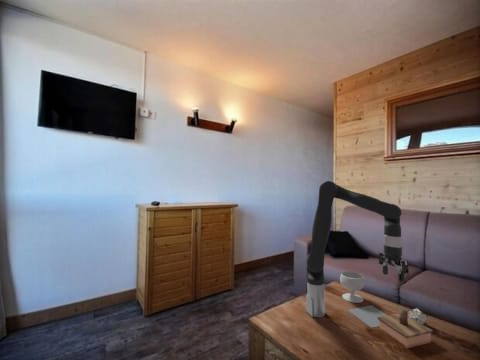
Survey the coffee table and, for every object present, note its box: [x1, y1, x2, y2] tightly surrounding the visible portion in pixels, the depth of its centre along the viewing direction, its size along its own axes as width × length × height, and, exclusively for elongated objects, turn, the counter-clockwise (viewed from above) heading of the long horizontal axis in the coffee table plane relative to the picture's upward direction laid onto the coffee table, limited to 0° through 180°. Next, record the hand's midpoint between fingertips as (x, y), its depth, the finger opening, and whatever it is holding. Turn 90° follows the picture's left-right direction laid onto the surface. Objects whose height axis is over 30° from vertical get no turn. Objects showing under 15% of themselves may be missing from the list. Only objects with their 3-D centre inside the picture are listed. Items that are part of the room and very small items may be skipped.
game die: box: [407, 306, 429, 326], centre depth 115 cm, size 9×8×10 cm
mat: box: [347, 305, 387, 328], centre depth 123 cm, size 17×17×1 cm
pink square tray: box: [379, 320, 432, 349], centre depth 107 cm, size 14×14×4 cm
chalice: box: [339, 270, 365, 304], centre depth 142 cm, size 14×14×15 cm
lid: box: [378, 308, 433, 339], centre depth 107 cm, size 15×15×7 cm
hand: (393, 277), depth 110 cm, fingers open, 8 cm apart
